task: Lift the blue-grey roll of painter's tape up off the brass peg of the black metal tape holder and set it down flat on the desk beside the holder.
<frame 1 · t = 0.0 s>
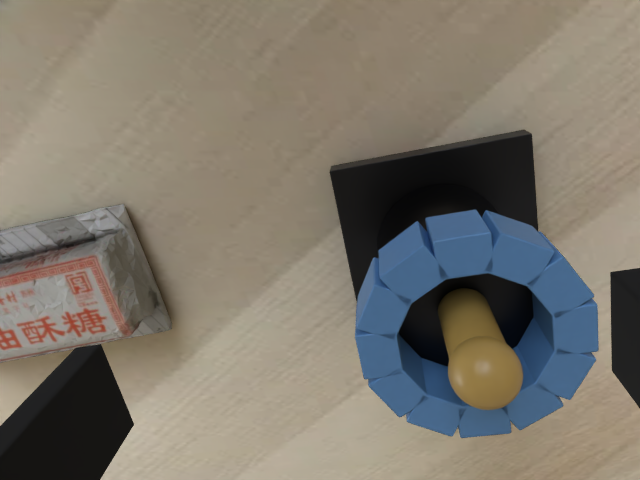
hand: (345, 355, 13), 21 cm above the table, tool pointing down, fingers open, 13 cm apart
tape holder: (437, 236, 34), on the table
packaged product: (45, 285, 38), on the table
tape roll: (462, 309, 25), point 10 cm above the table, touching tape holder
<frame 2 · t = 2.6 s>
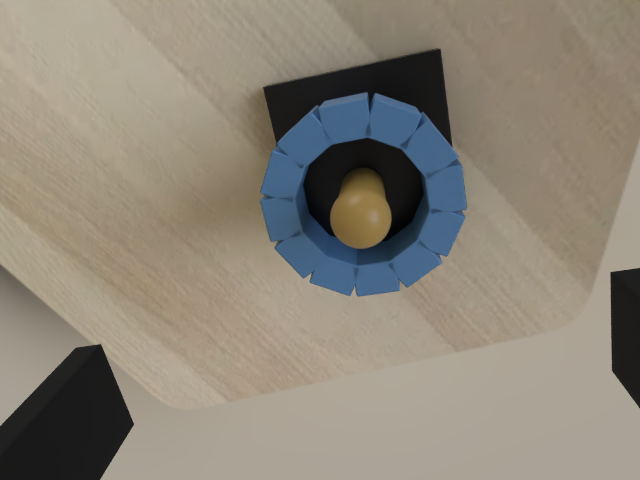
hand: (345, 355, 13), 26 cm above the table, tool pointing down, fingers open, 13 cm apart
tape holder: (365, 152, 37), on the table
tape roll: (362, 188, 28), point 10 cm above the table, touching tape holder
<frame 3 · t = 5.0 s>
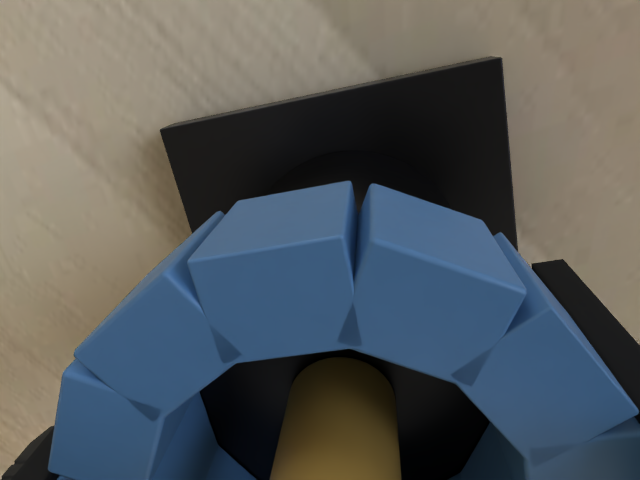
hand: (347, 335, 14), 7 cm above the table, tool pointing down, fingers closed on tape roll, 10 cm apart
tape holder: (354, 240, 21), on the table
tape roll: (342, 400, 11), point 10 cm above the table, touching gripper, tape holder
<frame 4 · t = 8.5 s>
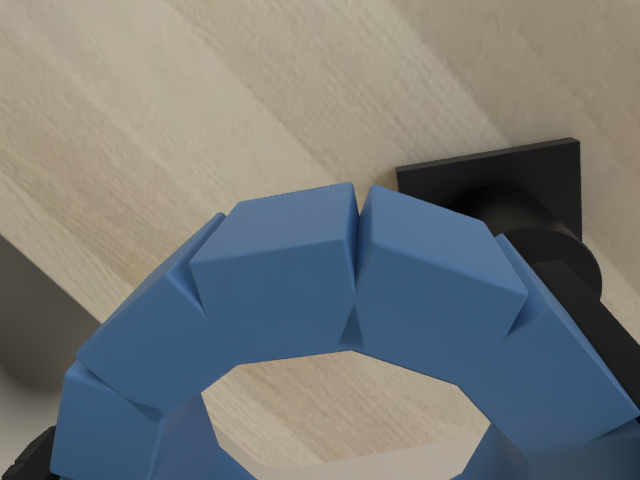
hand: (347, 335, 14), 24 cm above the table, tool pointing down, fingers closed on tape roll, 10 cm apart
tape holder: (488, 232, 38), on the table
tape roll: (343, 401, 11), point 27 cm above the table, touching gripper
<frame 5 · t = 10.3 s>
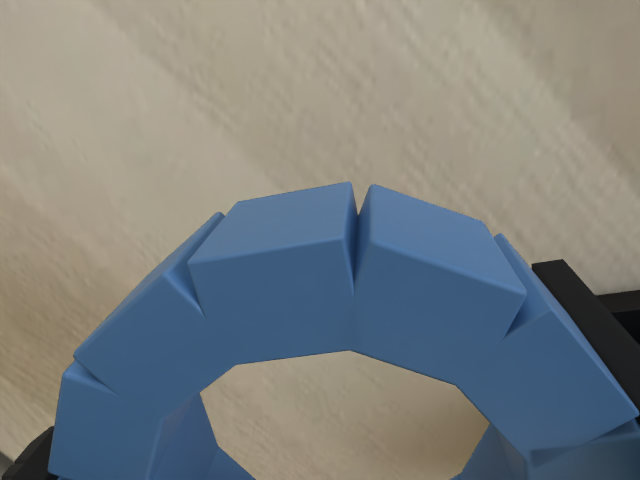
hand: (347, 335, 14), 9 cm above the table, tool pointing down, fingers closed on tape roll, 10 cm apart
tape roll: (342, 401, 11), point 12 cm above the table, touching gripper
when the fingers open (0 cm above the table, at t = 11.9 s): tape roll drops 3 cm, on the table.
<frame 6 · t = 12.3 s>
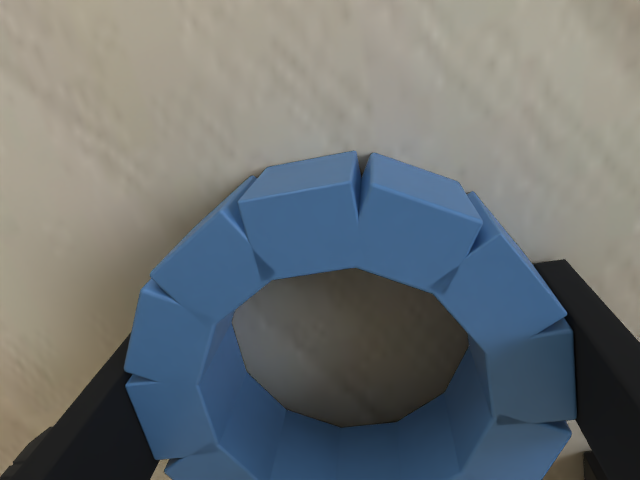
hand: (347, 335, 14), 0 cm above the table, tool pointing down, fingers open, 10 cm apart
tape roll: (348, 332, 14), on the table
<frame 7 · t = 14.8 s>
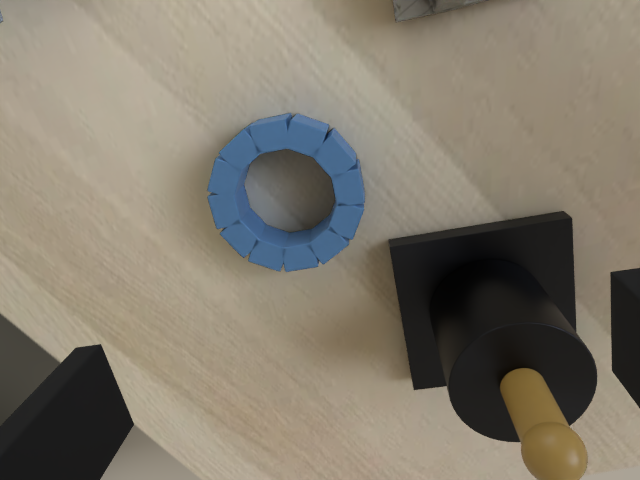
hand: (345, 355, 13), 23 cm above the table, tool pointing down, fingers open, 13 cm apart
tape holder: (482, 300, 37), on the table
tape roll: (291, 187, 36), on the table
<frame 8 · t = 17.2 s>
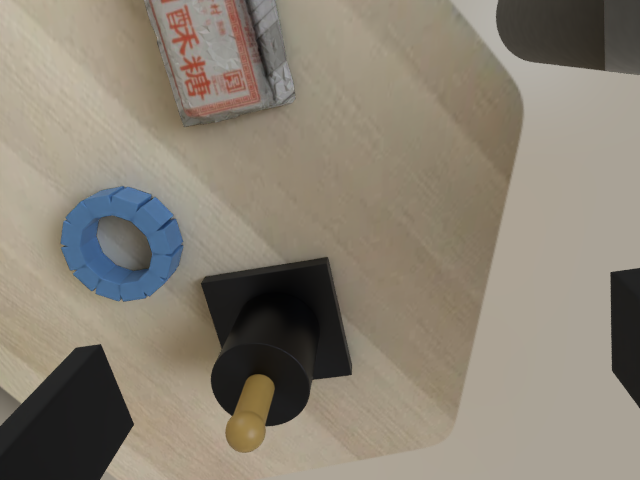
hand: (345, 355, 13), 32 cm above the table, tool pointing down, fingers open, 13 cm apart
tape holder: (280, 322, 50), on the table
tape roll: (130, 238, 48), on the table
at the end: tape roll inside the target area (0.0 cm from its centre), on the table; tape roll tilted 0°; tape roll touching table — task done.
